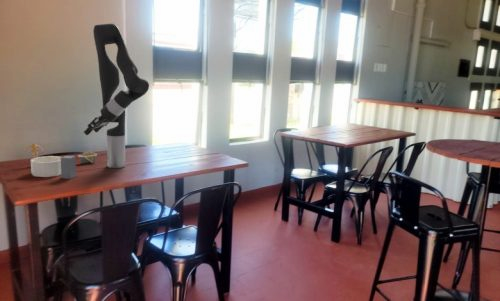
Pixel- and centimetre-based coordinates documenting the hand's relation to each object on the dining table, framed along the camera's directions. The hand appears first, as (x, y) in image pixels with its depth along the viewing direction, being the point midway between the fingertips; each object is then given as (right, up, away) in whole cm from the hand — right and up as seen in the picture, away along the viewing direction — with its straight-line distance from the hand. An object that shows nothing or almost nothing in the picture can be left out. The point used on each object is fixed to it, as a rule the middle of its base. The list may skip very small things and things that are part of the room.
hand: (90, 132), depth 178 cm
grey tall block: (-13, -21, +5) cm, 25 cm away
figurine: (-38, -17, +22) cm, 47 cm away
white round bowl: (-25, -20, +10) cm, 34 cm away
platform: (-15, -16, +34) cm, 41 cm away
